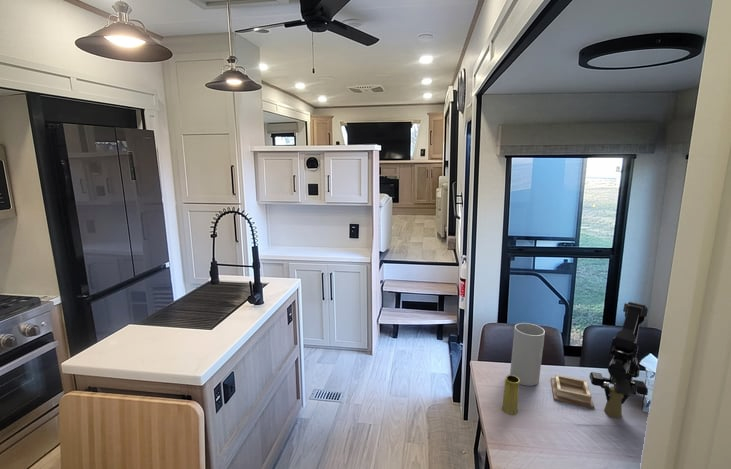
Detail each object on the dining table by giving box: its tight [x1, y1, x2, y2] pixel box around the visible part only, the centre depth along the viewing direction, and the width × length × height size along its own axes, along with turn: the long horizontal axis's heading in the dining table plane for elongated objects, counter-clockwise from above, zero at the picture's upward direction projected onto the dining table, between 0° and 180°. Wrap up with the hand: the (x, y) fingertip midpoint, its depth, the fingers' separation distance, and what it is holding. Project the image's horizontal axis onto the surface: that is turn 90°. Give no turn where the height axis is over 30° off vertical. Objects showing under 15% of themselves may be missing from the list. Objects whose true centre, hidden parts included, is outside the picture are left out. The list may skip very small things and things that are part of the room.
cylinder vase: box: [509, 322, 546, 387], centre depth 172 cm, size 12×12×25 cm
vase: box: [501, 374, 520, 416], centre depth 152 cm, size 6×6×14 cm
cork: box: [603, 385, 624, 419], centre depth 151 cm, size 6×6×11 cm
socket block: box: [550, 373, 595, 410], centre depth 164 cm, size 16×15×4 cm
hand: (614, 401), depth 151 cm, fingers closed on cork, 5 cm apart
